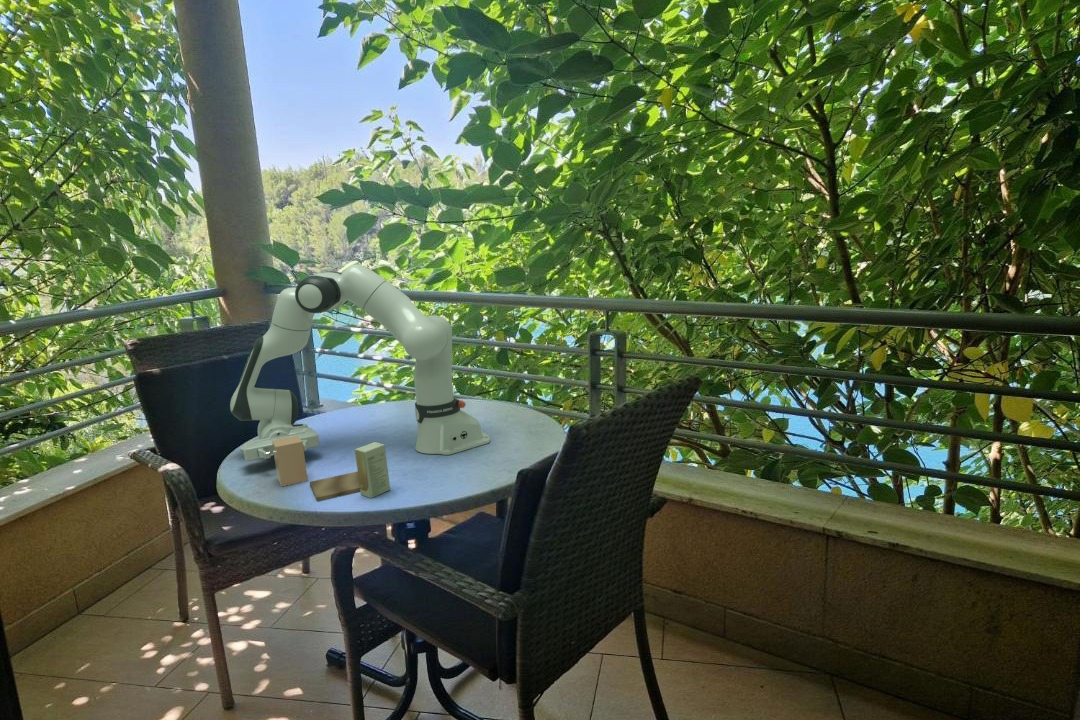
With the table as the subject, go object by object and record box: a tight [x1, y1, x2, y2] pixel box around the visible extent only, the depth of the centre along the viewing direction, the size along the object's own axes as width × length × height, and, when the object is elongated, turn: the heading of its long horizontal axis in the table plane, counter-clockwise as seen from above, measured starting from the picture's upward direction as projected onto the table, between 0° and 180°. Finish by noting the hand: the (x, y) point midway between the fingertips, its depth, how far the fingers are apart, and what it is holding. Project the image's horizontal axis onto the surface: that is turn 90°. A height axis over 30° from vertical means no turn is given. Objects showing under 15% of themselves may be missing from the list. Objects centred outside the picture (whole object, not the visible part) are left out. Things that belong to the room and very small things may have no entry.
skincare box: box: [354, 441, 391, 499], centre depth 155 cm, size 6×4×12 cm
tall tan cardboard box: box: [272, 436, 308, 487], centre depth 167 cm, size 7×7×11 cm
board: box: [309, 470, 361, 502], centre depth 161 cm, size 13×12×1 cm
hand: (285, 452), depth 173 cm, fingers open, 8 cm apart
